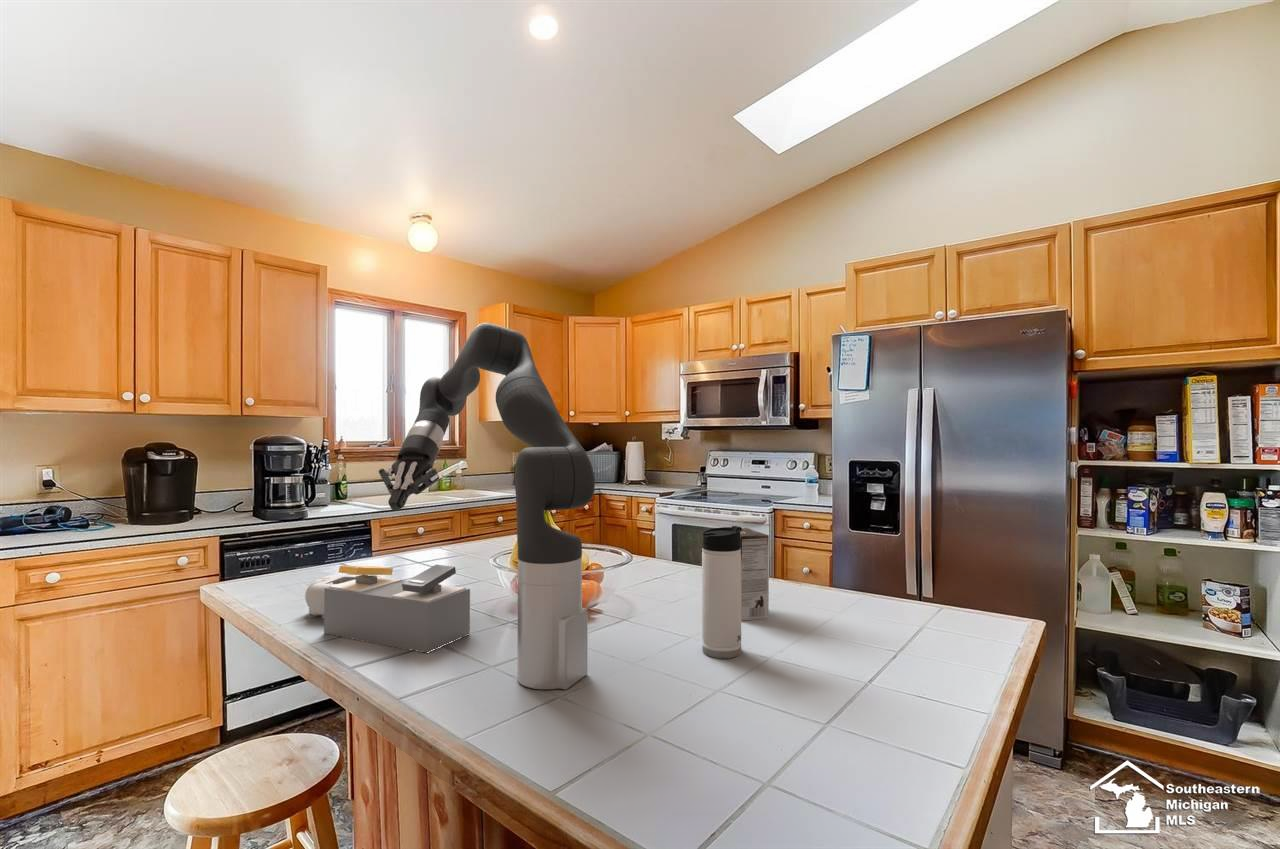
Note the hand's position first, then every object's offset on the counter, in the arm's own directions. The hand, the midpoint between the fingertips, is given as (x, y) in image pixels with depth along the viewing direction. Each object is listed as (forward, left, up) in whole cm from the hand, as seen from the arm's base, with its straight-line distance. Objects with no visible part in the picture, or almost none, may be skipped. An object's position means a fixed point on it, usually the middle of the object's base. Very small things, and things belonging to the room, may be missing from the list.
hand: (394, 507), depth 117 cm
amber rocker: (-3, +9, -10) cm, 14 cm away
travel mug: (-65, -6, -21) cm, 69 cm away
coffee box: (-63, -28, -21) cm, 72 cm away
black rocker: (-18, +9, -10) cm, 23 cm away
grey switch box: (-10, +9, -21) cm, 25 cm away
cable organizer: (+10, +3, -21) cm, 24 cm away
